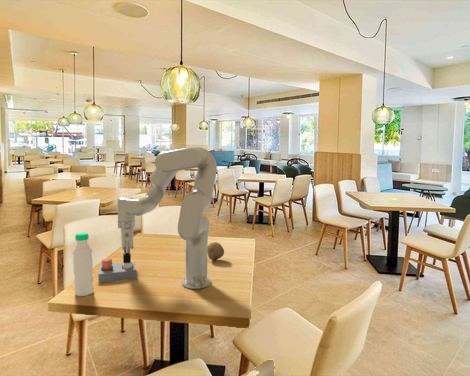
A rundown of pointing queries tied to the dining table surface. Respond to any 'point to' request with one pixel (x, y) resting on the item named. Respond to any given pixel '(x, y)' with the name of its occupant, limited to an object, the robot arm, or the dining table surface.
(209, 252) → the natural sponge
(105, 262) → the red plug
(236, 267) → the dining table surface
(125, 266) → the domed peg
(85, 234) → the water bottle
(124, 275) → the panel
